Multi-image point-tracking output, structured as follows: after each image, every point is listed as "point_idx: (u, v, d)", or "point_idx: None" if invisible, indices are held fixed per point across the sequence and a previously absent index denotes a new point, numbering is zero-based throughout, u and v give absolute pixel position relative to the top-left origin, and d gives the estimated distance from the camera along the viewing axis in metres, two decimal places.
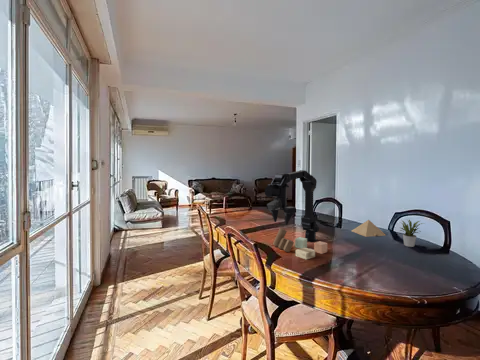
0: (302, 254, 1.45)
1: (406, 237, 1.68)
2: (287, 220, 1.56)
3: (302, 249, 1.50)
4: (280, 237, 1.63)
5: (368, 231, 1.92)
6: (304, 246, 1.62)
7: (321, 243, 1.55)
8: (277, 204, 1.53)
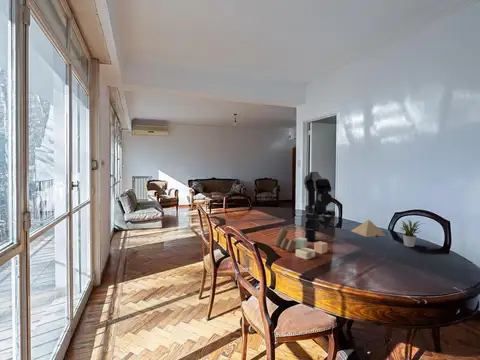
0: (302, 254, 1.45)
1: (406, 237, 1.68)
2: (313, 226, 1.52)
3: (302, 249, 1.50)
4: (282, 237, 1.63)
5: (368, 231, 1.92)
6: (304, 246, 1.62)
7: (321, 243, 1.55)
8: (306, 207, 1.58)
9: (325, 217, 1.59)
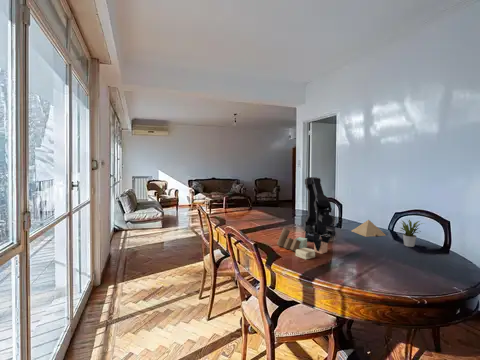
0: (302, 253, 1.45)
1: (406, 237, 1.68)
2: (316, 246, 1.54)
3: (302, 249, 1.50)
4: (284, 237, 1.63)
5: (368, 231, 1.92)
6: (304, 246, 1.62)
7: (321, 243, 1.55)
8: (306, 227, 1.58)
9: (323, 237, 1.58)
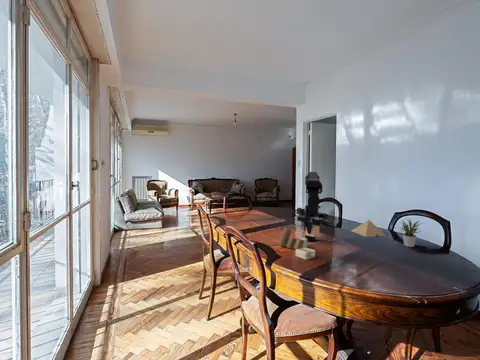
0: (302, 253, 1.45)
1: (406, 237, 1.68)
2: (307, 229, 1.48)
3: (302, 249, 1.50)
4: (287, 237, 1.64)
5: (368, 231, 1.92)
6: (304, 246, 1.62)
7: (313, 226, 1.49)
8: (297, 210, 1.52)
9: (315, 220, 1.52)
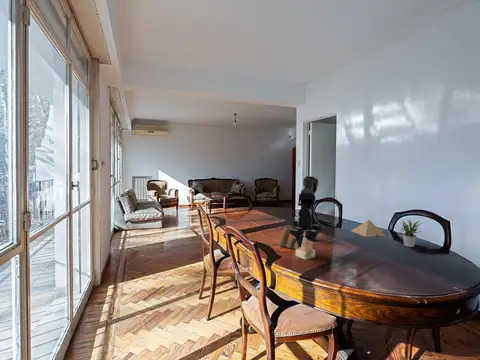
0: (301, 253, 1.45)
1: (406, 237, 1.68)
2: (298, 242, 1.45)
3: None
4: (286, 237, 1.64)
5: (368, 231, 1.92)
6: None
7: (306, 241, 1.47)
8: (290, 222, 1.50)
9: (311, 232, 1.51)
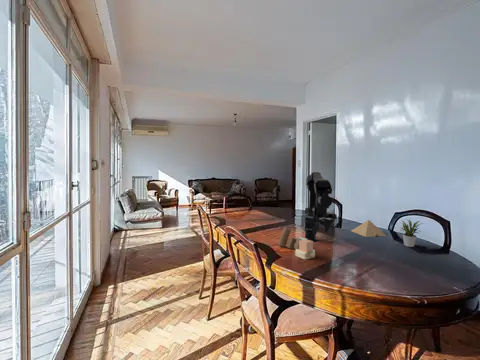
0: (301, 253, 1.45)
1: (406, 237, 1.68)
2: (313, 230, 1.45)
3: None
4: (286, 237, 1.64)
5: (367, 231, 1.92)
6: None
7: (306, 241, 1.47)
8: (306, 210, 1.51)
9: (326, 220, 1.52)
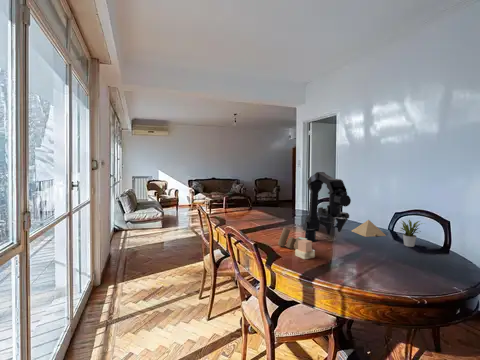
0: (301, 253, 1.46)
1: (406, 237, 1.68)
2: (327, 229, 1.46)
3: None
4: (286, 237, 1.64)
5: (367, 231, 1.92)
6: None
7: (305, 241, 1.47)
8: (319, 209, 1.51)
9: (339, 219, 1.52)
